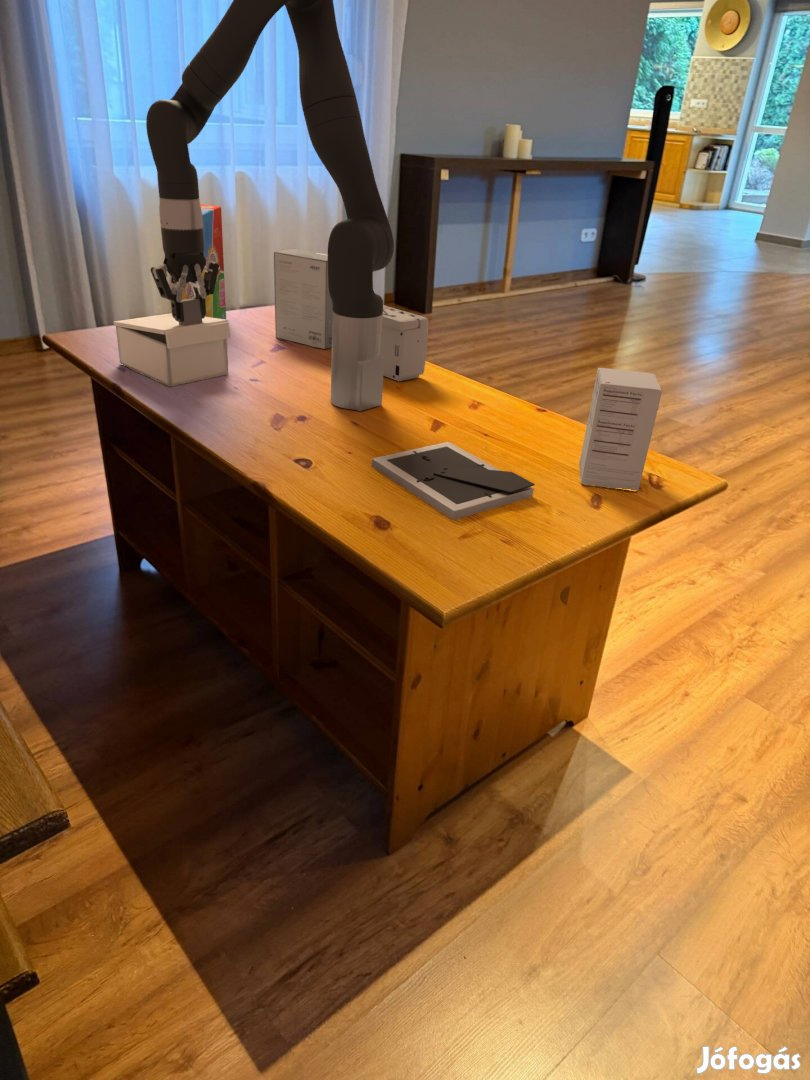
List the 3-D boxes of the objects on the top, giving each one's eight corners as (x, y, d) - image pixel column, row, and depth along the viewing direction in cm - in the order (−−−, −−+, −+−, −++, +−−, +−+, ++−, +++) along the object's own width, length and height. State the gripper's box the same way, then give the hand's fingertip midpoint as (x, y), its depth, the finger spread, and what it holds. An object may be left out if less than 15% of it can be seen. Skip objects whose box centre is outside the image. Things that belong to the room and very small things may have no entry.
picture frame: (531, 500, 117) (447, 452, 131) (534, 484, 116) (448, 437, 130) (452, 524, 108) (371, 470, 123) (455, 506, 107) (372, 454, 121)
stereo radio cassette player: (425, 378, 165) (434, 282, 155) (399, 385, 159) (406, 286, 149) (359, 355, 177) (362, 265, 167) (332, 360, 171) (334, 268, 161)
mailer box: (228, 374, 158) (226, 335, 154) (169, 387, 148) (165, 346, 144) (178, 353, 168) (175, 316, 164) (120, 364, 158) (115, 325, 154)
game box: (206, 341, 178) (199, 215, 165) (183, 339, 178) (173, 213, 164) (226, 319, 196) (221, 205, 183) (205, 318, 196) (198, 203, 183)
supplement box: (639, 493, 120) (664, 390, 112) (579, 486, 121) (600, 383, 113) (633, 469, 128) (656, 372, 120) (578, 462, 129) (597, 365, 121)
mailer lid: (231, 337, 153) (226, 296, 150) (167, 348, 144) (161, 305, 140) (178, 328, 165) (173, 290, 162) (116, 338, 155) (109, 298, 152)
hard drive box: (344, 344, 183) (347, 257, 174) (325, 350, 178) (326, 261, 168) (294, 331, 190) (293, 247, 180) (273, 337, 184) (272, 250, 175)
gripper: (158, 229, 133) (168, 328, 141) (226, 225, 143) (231, 318, 151) (135, 224, 138) (146, 321, 146) (202, 220, 147) (209, 311, 155)
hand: (190, 319), depth 148 cm, fingers closed on mailer lid, 4 cm apart
